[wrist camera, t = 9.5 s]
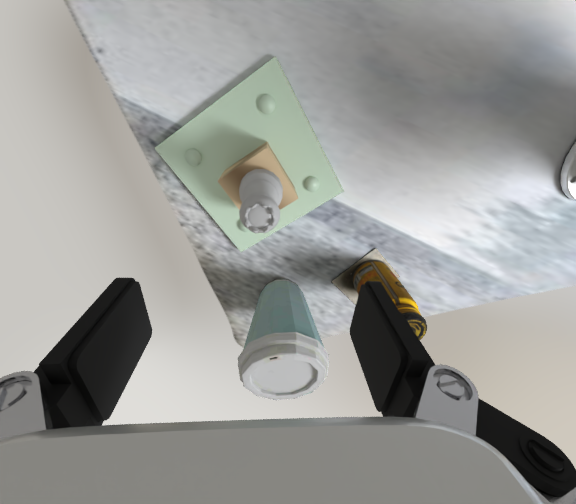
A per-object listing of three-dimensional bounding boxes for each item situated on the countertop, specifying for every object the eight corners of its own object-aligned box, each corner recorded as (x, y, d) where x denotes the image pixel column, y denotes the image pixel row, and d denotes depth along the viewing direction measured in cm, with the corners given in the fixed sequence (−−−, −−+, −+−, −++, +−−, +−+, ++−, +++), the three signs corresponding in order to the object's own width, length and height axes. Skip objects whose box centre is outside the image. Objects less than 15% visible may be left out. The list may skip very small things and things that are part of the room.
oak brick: (267, 141, 29) (267, 147, 25) (294, 185, 32) (298, 198, 27) (224, 170, 30) (217, 181, 26) (254, 211, 33) (252, 226, 29)
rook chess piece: (291, 182, 26) (299, 209, 19) (268, 217, 28) (269, 253, 21) (252, 158, 25) (247, 178, 18) (231, 196, 27) (219, 228, 20)
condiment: (399, 276, 41) (444, 333, 31) (356, 305, 43) (384, 367, 33) (375, 247, 38) (416, 300, 28) (330, 280, 40) (352, 340, 30)
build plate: (275, 57, 26) (275, 55, 25) (342, 189, 33) (344, 191, 32) (156, 147, 29) (153, 148, 28) (241, 249, 36) (240, 253, 35)
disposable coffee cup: (318, 310, 43) (340, 398, 30) (257, 325, 44) (253, 418, 31) (304, 259, 38) (323, 338, 25) (235, 277, 39) (219, 364, 26)
